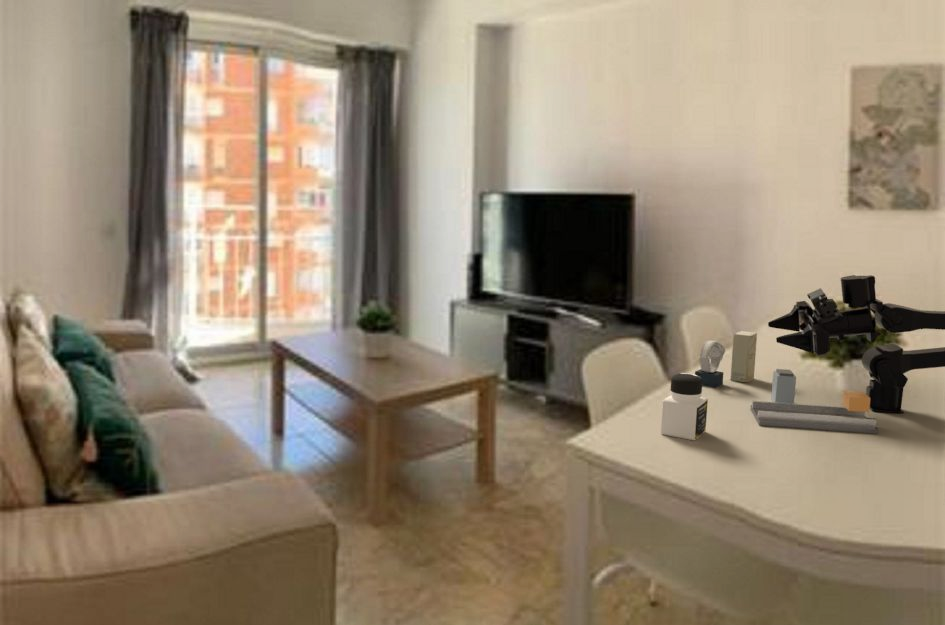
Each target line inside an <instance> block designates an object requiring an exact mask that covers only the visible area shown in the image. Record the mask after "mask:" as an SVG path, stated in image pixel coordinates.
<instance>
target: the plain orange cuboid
mask: <svg viewBox="0 0 945 625" xmlns="http://www.w3.org/2000/svg"><path fill="white" fill-rule="evenodd" d="M842 392H843V393H842V400H841V402H842V403H841V404H842V407H845V408H846V409H847V410H848V411H859V412H865V413H869V412H870V397H869V396H868V395H866V392H864V391H857V390H856V391H855V390H843V391H842Z"/></svg>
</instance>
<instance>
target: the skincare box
mask: <svg viewBox="0 0 945 625" xmlns="http://www.w3.org/2000/svg"><path fill="white" fill-rule="evenodd" d="M757 337H758V332H754V331H753V332H752V331H744V330H740V331H737V332H736V333H733V337H732V339H733V340H732V352H731V353H732V354H731V368H730V381H734V382H739V383H740V382H741V383H748V382H750V381H752V380H754V379H755V367H756V355H757V354H756V353H757V341H758V340H757Z"/></svg>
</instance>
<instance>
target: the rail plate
mask: <svg viewBox="0 0 945 625" xmlns="http://www.w3.org/2000/svg"><path fill="white" fill-rule="evenodd" d="M750 411H751V413H752V415H753V416H754V419H755V421H756V422H757V424H758V426H759V427H761V426H762V427H773V428H776V427H777V428H786V429H787V428H790V429H801V430H802V429H805V430H816V431H817V430H818V431H832V432H843V433H844V432H845V433H860V434H870V435H871V434H874V435H878V433H879V429H878V427H877V419H876V418H870V417H866V416H865V414H866V412H859V411H848V410H847V409H846V408H845V407H844V406H838V405H824V404H807V403H796V402H794V403H781V402H772V401H767V400H766V401H763V400H752V403H751V404H750ZM760 425H761V426H760Z"/></svg>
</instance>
